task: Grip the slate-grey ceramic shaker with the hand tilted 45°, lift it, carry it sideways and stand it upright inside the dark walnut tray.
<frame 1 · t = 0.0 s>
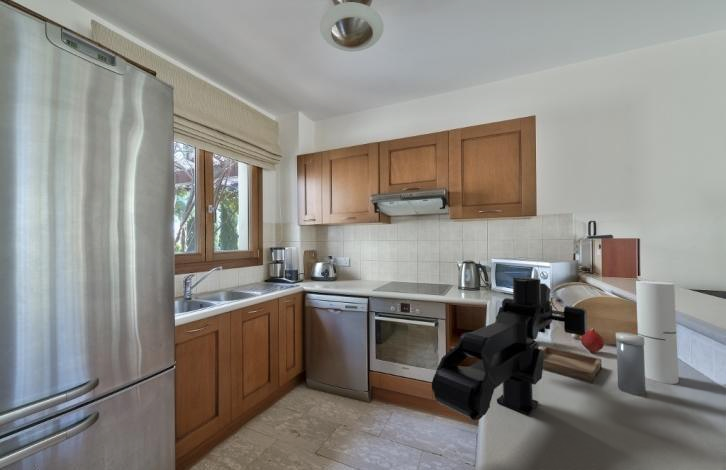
hand: (550, 310, 79), 17 cm above the worktop, tool horizontal, fingers open, 9 cm apart
walnut tray: (565, 366, 80), on the worktop
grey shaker: (631, 390, 67), on the worktop
cylindrical container: (658, 378, 74), on the worktop
beer glass: (523, 341, 102), on the worktop
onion: (592, 353, 91), on the worktop
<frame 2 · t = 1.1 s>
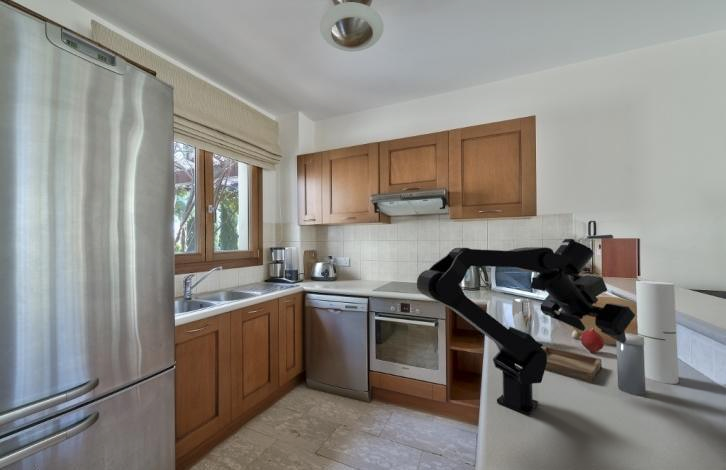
hand: (602, 335, 66), 14 cm above the worktop, tool tilted 45°, fingers open, 9 cm apart
nothing on the worktop moved.
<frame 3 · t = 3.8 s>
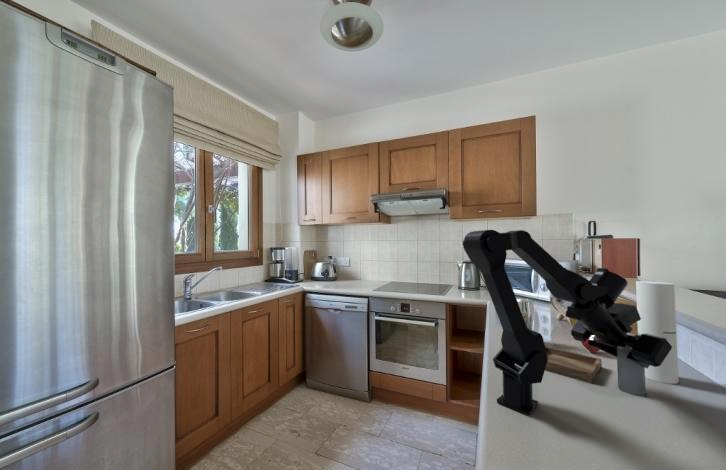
hand: (635, 362, 68), 7 cm above the worktop, tool tilted 45°, fingers closed on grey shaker, 5 cm apart
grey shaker: (631, 390, 67), on the worktop, touching gripper
everything else where it was.
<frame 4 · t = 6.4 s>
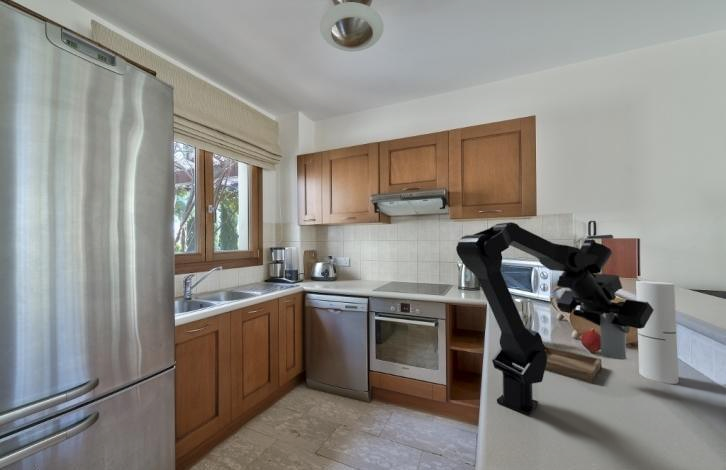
hand: (616, 328, 72), 13 cm above the worktop, tool tilted 45°, fingers closed on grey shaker, 5 cm apart
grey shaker: (613, 355, 71), point 7 cm above the worktop, touching gripper
everything else where it was.
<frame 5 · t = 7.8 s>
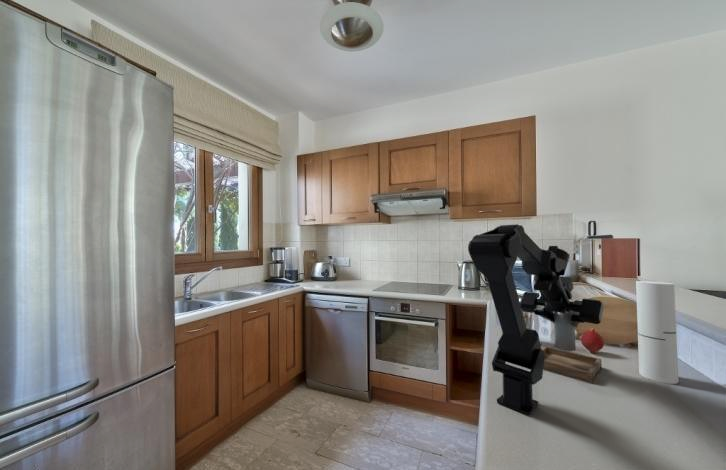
hand: (566, 324, 81), 12 cm above the worktop, tool tilted 45°, fingers closed on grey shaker, 5 cm apart
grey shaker: (565, 348, 80), point 5 cm above the worktop, touching gripper
everything else where it was.
when the fingers open (9 cm above the worktop, at t = 8.8 s): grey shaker drops 1 cm, resting on walnut tray.
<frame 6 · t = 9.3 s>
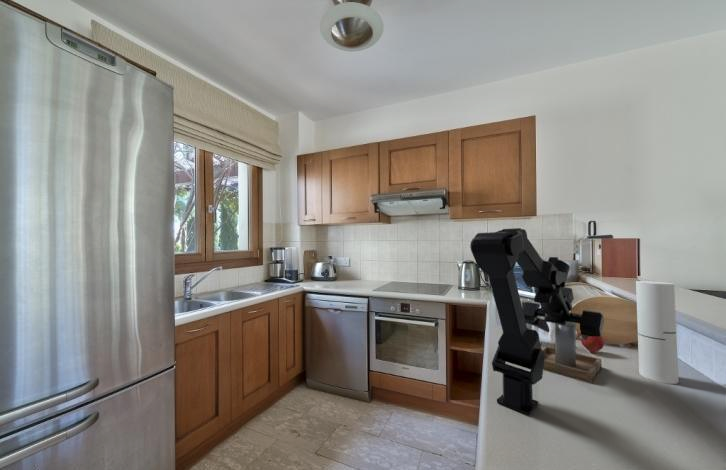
hand: (566, 334, 81), 9 cm above the worktop, tool tilted 45°, fingers open, 9 cm apart
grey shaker: (565, 364, 80), point 1 cm above the worktop, touching walnut tray
everything else where it was.
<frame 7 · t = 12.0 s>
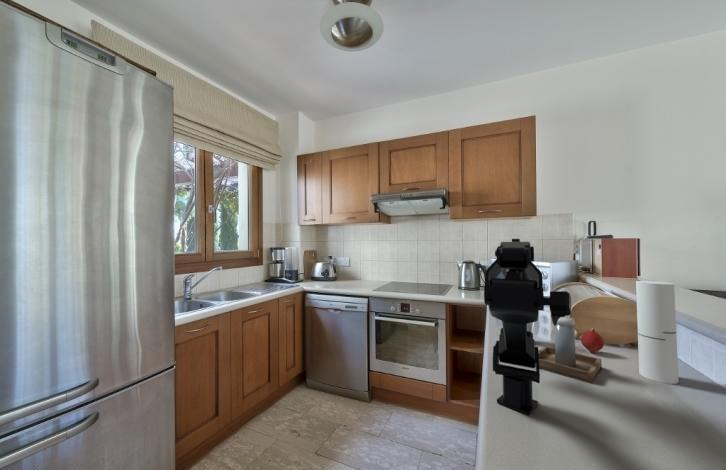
hand: (535, 322, 77), 13 cm above the worktop, tool tilted 40°, fingers open, 9 cm apart
nothing on the worktop moved.
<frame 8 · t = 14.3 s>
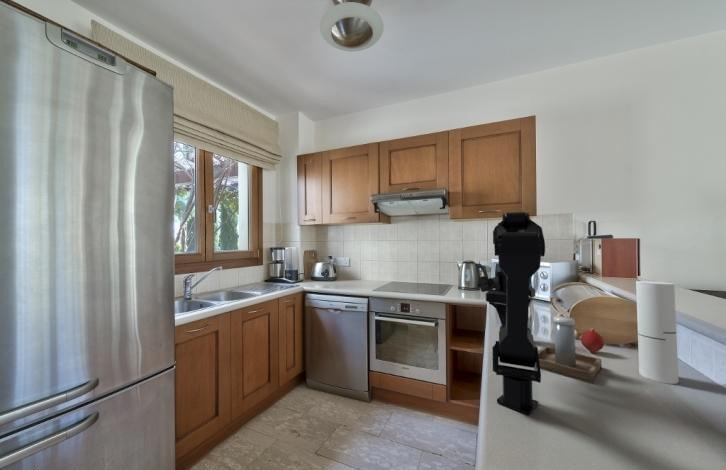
hand: (512, 325, 75), 13 cm above the worktop, tool pointing down, fingers open, 9 cm apart
nothing on the worktop moved.
at the end: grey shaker inside the target area on the walnut tray (0.1 cm from its centre), point 0.8 cm above the walnut tray's base; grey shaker tilted 1°; the gripper is holding nothing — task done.
